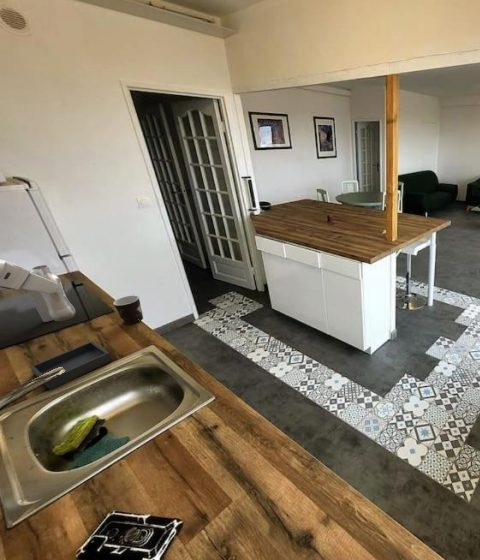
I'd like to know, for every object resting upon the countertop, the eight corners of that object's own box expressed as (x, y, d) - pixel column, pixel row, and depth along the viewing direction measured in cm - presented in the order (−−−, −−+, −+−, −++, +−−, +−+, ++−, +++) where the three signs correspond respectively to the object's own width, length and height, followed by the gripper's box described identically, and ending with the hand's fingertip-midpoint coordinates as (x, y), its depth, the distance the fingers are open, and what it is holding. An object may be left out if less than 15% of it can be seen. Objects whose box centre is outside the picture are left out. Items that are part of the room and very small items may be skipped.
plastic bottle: (77, 311, 115) (53, 262, 106) (78, 319, 111) (53, 267, 102) (53, 318, 111) (26, 266, 102) (53, 325, 106) (25, 272, 98)
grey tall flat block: (73, 310, 141) (52, 266, 132) (76, 313, 139) (54, 268, 130) (40, 320, 133) (15, 274, 124) (43, 323, 131) (17, 277, 122)
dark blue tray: (50, 390, 98) (45, 381, 97) (34, 374, 104) (29, 366, 103) (112, 360, 111) (109, 352, 110) (95, 348, 117) (92, 340, 116)
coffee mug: (134, 314, 140) (126, 294, 135) (151, 315, 139) (144, 296, 134) (109, 328, 129) (100, 308, 125) (127, 330, 128) (119, 309, 124)
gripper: (-28, 279, 95) (29, 293, 108) (14, 289, 90) (69, 302, 103) (-15, 260, 97) (39, 277, 110) (27, 269, 92) (79, 285, 105)
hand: (54, 289), depth 106 cm, fingers closed on plastic bottle, 6 cm apart
